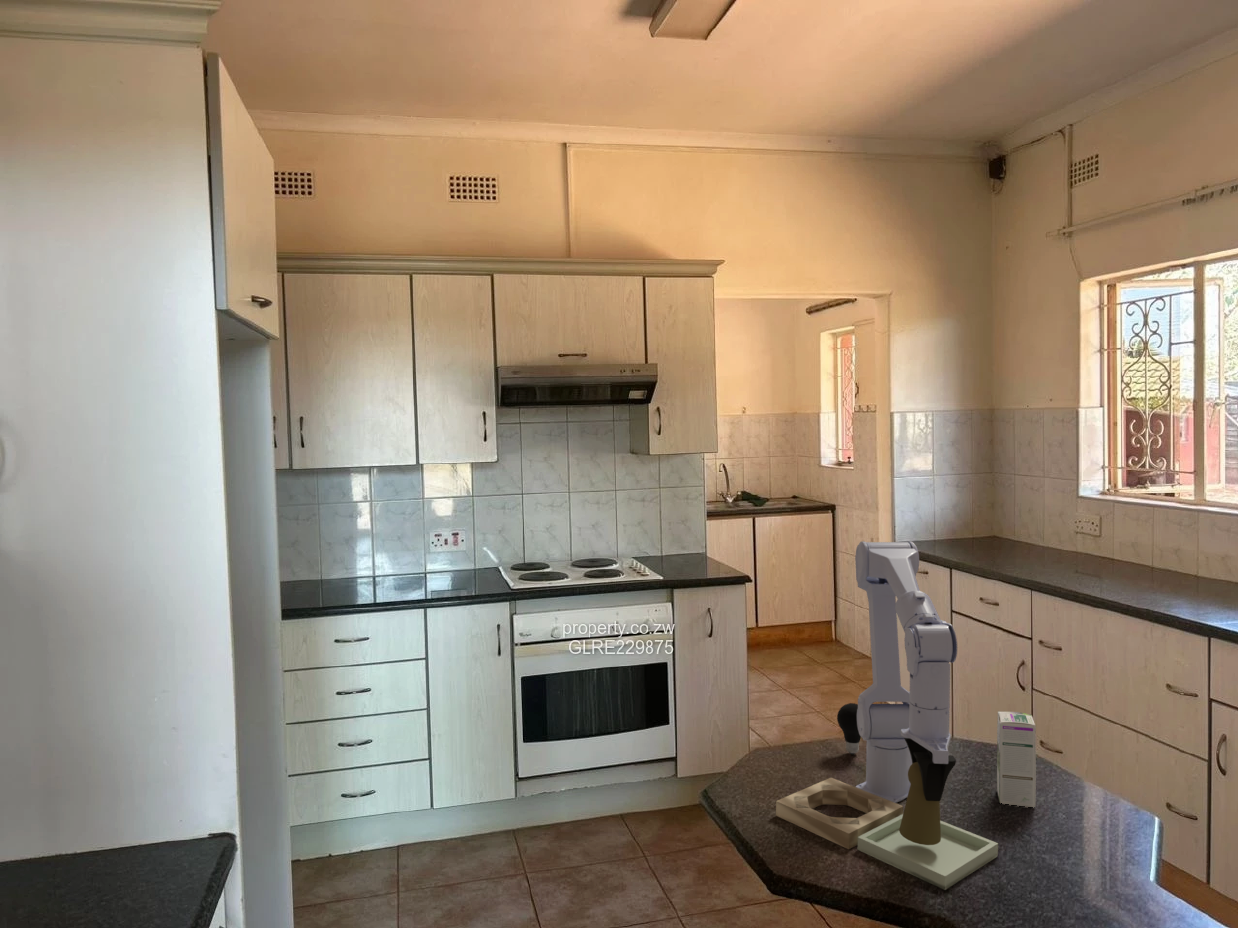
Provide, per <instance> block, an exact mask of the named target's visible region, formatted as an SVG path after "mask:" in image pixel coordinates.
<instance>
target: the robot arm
mask: <svg viewBox="0 0 1238 928" xmlns="http://www.w3.org/2000/svg"><path fill="white" fill-rule="evenodd" d="M854 556H855V558H854V561H855V563H854V564H855V578H856V579H855V580H856V582H857V587H858V588H859V589H861V590H864V591H865V592H866V597H867V601H868V615H869V617H868V618H869V619H868V620H869V631H870V633H869V634H870V653H871V669H872V684H871V685H869V686H868V687H867V688H865V689H864V691H862V692H861V693H859V695H858V698H857V704H858V709H857V727H858V731H859V734H860V736H861V739H862V740H863V741H866V748H865V750H866V752H865V753H866V755H865V756H866V758H865V760H866V761H865V762H866V764H865V766H866V767H865V768H866V769H865V771H866V772H865V781H864V782H861V783H859V784H857V785H856V786H855V787H856V788H859V789H861V790H864V791H866V792H869V793H871V794H874V795H876V796H879V797H881V798H884V799H887V800H889V801H892V802H894V803H897V804H898V802H901V801H903V800H905V799H907V797H908V793H909V789H910V785H911V783H910V782H909V779H908V770H909V768H910V766H911V765H912V764H913V763H915V762H918V765H919V768H920V772H921V777H922V785H923V792H924V796H925V799H926V801H940V802H941V800H942V797H943V794H944V790H945V786H946V783H947V780H948V777H949V775H950V773H951V771H952V770H953V768H954V767H955V765H956V762H957V759H956V757H955V756H954V755H949V746H950V742H951V737H952V736H951V732H950V715H951V714H950V710H951V709H950V706H951V705H950V703H951V702H950V701H951V700H950V699H951V696H950V694H951V664H953V663H955V661H956V659H957V655H958V640H957V639H958V638H957V635H956V630H955V628H954V625H953V624H951V622H947V621H946V620H942V619H941V617H940V615H939V614H938V611H937V610H936V607H935V605H934V603H933V601H932V599H931V597H930V596H929V594H927V593H926V592H924V591H921V590H920V587H919V584H918V580H917V578H916V577H917V574H918V571H919V569H920V568H919V567H920V554H919V550H918V547H917V545H916V544H915V543H914V542H913V541H911V540H909V541H908V540H907V541H890V542H889V541H879V542H878V541H876V542H875V541H874V542H873V541H864V540H863V541H860V542H859V543H858V545H857V546H856V549H855V555H854ZM896 598H897V600H896ZM898 620H899V622H900V625H901V627H902V630H903V632H904V649H905V656H906V670H907V671H908V672H909V690H907V689H906V688H905V687H903V686H902V684H901V683H902V682H901V666H900V665H901V664H900V663H901V662H900V647H899V635H898V634H899V633H898ZM877 702H879V703H877ZM880 702H881V703H880ZM884 702H887V703H884ZM888 702H889V703H888ZM893 702H895V703H893ZM896 702H897V703H896ZM899 702H901V703H899Z"/></svg>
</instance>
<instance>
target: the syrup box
mask: <svg viewBox="0 0 1238 928" xmlns="http://www.w3.org/2000/svg"><path fill="white" fill-rule="evenodd" d="M1036 726H1037V725H1036V723H1035V721H1034V717H1033V715H1032V714H1030V713H1026V712H1019V711H997V727H996V728H997V732H996V734H997V735H996V736H997V737H996V738H997V740H996V741H997V742H996V743H997V745H996V746H997V748H996V750H997V751H996V753H997V754H996V761H997V762H996V793H997V797H998V801H999V803H1000V804H1001V803H1002V804H1001V805H1005V804H1009V805H1008V806H1011V805H1017V806H1016V807H1019V806H1025V807H1024V808H1028V807H1033V808H1032V809H1035V808H1036V794H1037V793H1036V792H1037V791H1036V790H1037V789H1036V787H1037V786H1036V785H1037V784H1036V783H1037V769H1036V768H1037V767H1036V766H1037V762H1036V761H1037V759H1036V758H1037V754H1036V753H1037V750H1036V749H1037V747H1036V745H1037V744H1036V743H1037V742H1036V740H1037V739H1036V731H1037V727H1036ZM1034 807H1035V808H1034Z"/></svg>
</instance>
